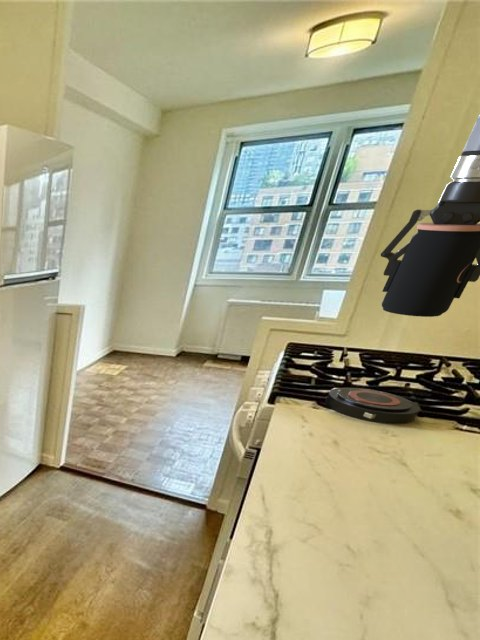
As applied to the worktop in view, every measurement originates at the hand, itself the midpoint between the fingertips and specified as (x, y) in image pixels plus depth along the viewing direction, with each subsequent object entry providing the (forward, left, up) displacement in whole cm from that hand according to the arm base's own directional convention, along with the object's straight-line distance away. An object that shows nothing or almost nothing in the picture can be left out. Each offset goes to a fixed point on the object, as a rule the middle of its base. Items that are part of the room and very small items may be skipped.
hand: (419, 294), depth 107 cm
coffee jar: (0, 0, -4) cm, 4 cm away
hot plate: (-4, +5, -26) cm, 27 cm away
